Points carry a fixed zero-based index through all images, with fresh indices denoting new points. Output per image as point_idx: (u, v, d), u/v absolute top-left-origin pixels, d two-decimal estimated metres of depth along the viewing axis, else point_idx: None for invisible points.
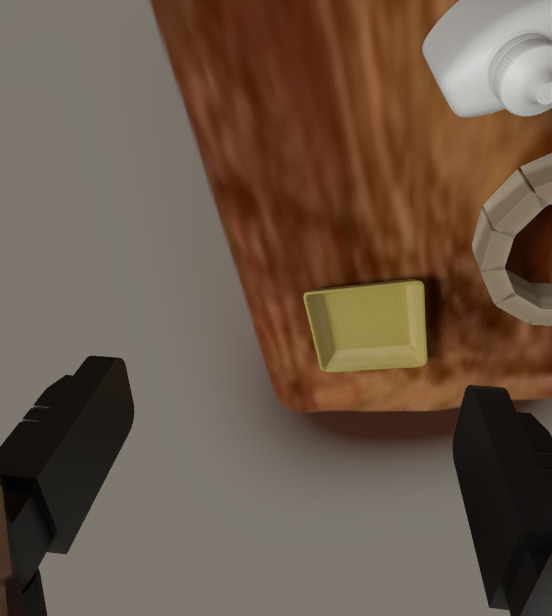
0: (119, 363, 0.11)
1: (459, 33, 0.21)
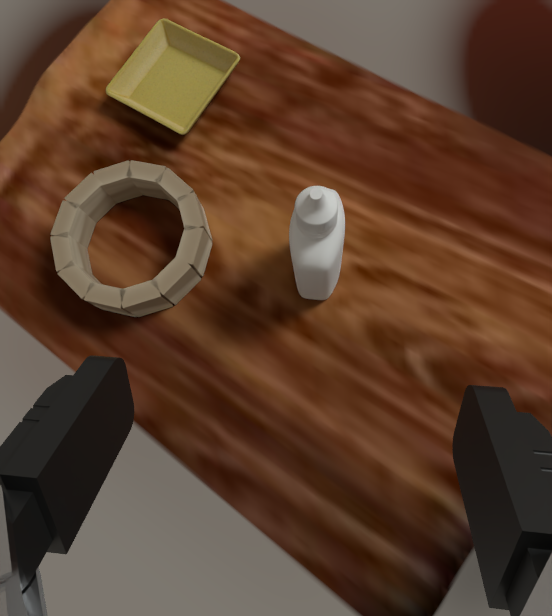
0: (119, 363, 0.11)
1: None
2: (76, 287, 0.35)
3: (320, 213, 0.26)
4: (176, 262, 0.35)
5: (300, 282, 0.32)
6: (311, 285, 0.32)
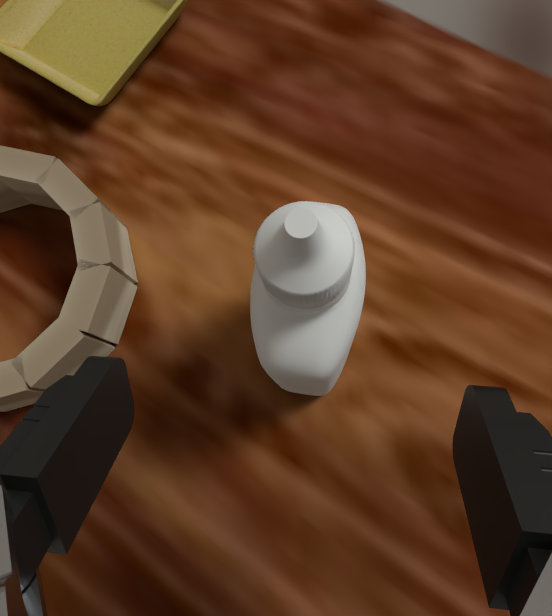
0: (119, 363, 0.11)
1: None
2: None
3: (311, 269, 0.11)
4: (59, 327, 0.20)
5: (275, 381, 0.17)
6: (296, 386, 0.17)
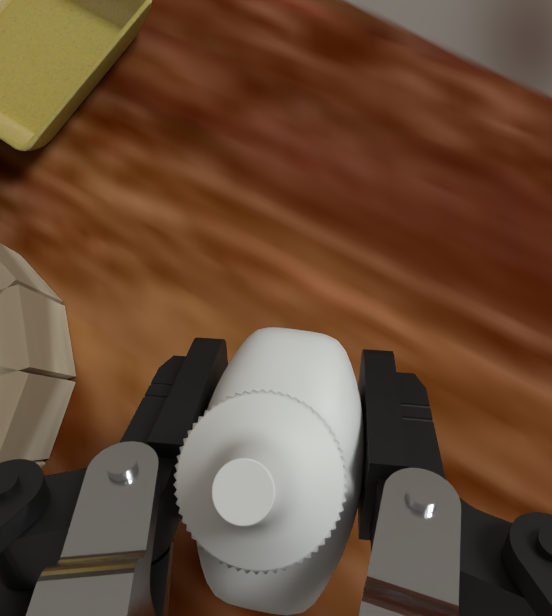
0: (223, 344, 0.12)
1: None
2: None
3: (268, 535, 0.06)
4: None
5: None
6: None
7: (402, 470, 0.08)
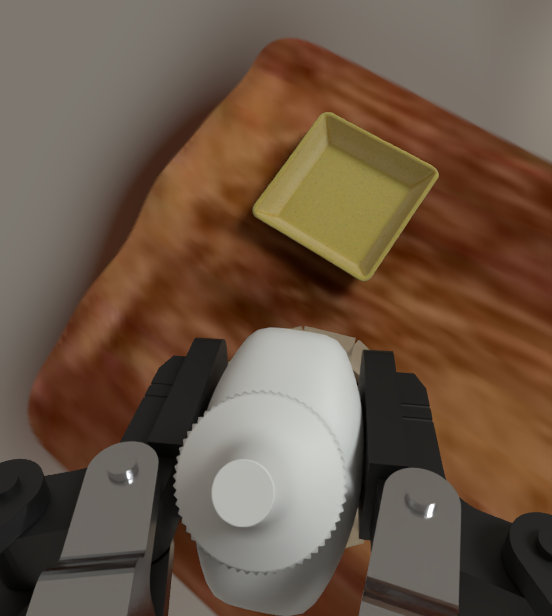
0: (223, 344, 0.12)
1: None
2: None
3: (269, 536, 0.06)
4: None
5: None
6: None
7: (402, 470, 0.08)
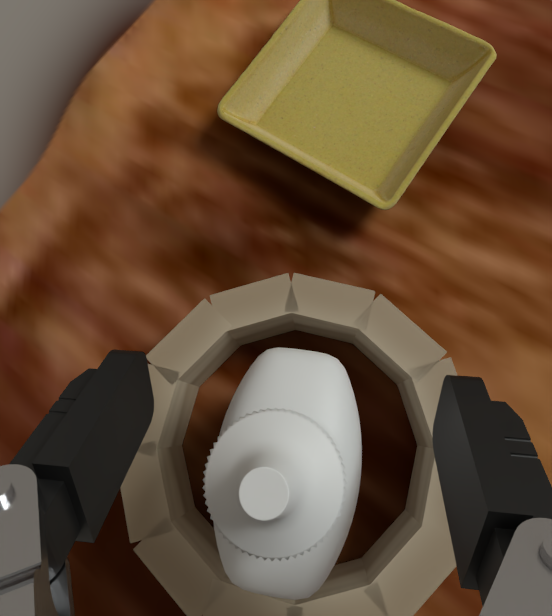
0: (141, 357, 0.11)
1: None
2: (180, 591, 0.15)
3: (283, 528, 0.08)
4: (425, 541, 0.14)
5: None
6: None
7: (529, 521, 0.07)
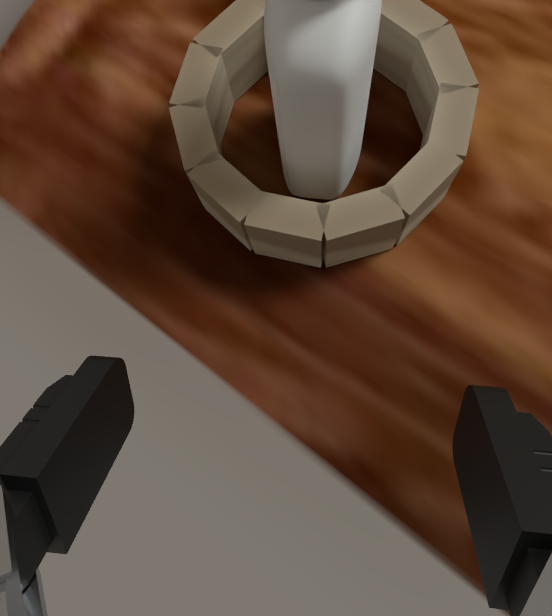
0: (119, 363, 0.11)
1: None
2: (227, 200, 0.18)
3: None
4: (430, 152, 0.17)
5: (288, 141, 0.16)
6: (309, 147, 0.17)
7: None
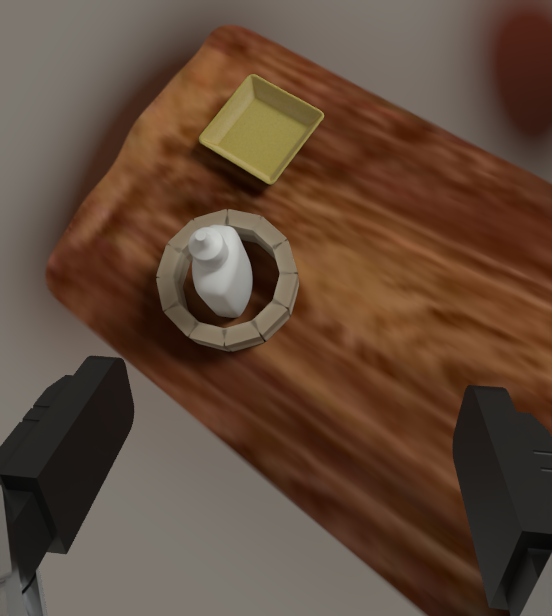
0: (119, 363, 0.11)
1: (244, 257, 0.37)
2: (182, 325, 0.39)
3: (206, 251, 0.32)
4: (273, 305, 0.39)
5: (207, 304, 0.38)
6: (216, 306, 0.38)
7: None
